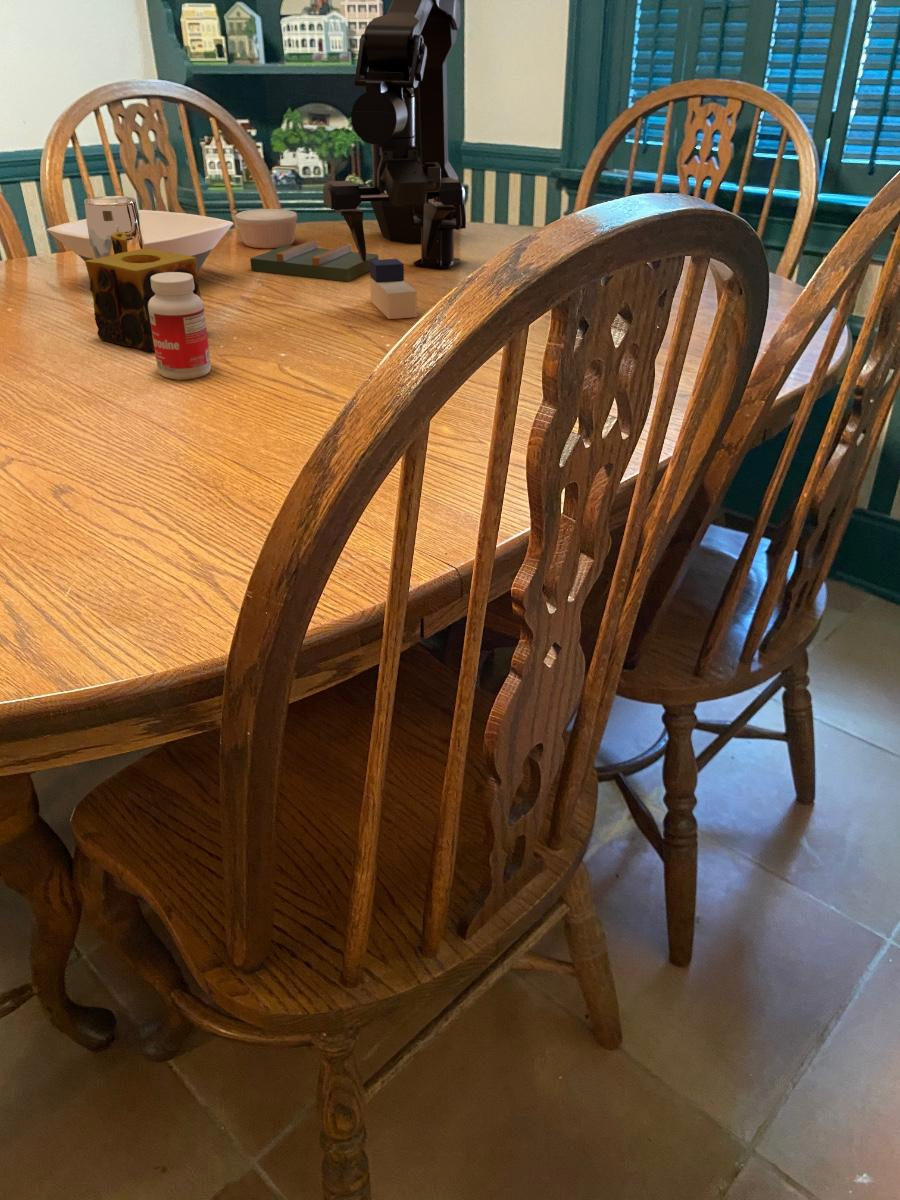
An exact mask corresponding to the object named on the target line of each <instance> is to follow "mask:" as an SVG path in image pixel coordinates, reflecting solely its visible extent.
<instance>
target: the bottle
mask: <svg viewBox="0 0 900 1200" xmlns="http://www.w3.org/2000/svg"><path fill="white" fill-rule="evenodd" d="M409 78H410V77H409ZM413 92H414V97H415V146H416V147H417V152H418V160H419V164H420V165H421V144H420V116H419V87H418V86H417V88H413ZM368 187H373V184H372V182H370V185H369V186H368ZM382 193H383V194H385V193H384V191H380V194H382ZM370 204H371V208H372V210H373V213H374V216H375V219H376V221H377V224H378V227H379V230H380V233H381V235H382V236H383V237H385V238H386V239H387V240H389V241H390V242H403V243H421V227H415V228H413V227H411V217H410V205H409V204H404V205H403V206H396V205H393V204H392V203H391V202H390V201H370Z"/></svg>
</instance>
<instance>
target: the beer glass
mask: <svg viewBox="0 0 900 1200" xmlns="http://www.w3.org/2000/svg"><path fill="white" fill-rule="evenodd" d="M83 204H84V209H85V219H86V221H87V228H88V234H89V239H90V243H91V247H92V250H93V254H94V257H95V259H97V258H101V257H106V256H110V255H114V254H118V253H123V252H129V251H134V250H139V249H144V241H143V233H142V227H141V222H140V218H139V213H138V210H139V209H138V205H137V200H136V198H134V197H132V196H125V195H105V196H94V197H90V198H89V197H88V198H86V199H84V200H83Z"/></svg>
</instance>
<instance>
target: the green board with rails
mask: <svg viewBox="0 0 900 1200" xmlns="http://www.w3.org/2000/svg"><path fill="white" fill-rule="evenodd" d="M318 246H319V245H318V240H313V239H312V240H308V241H306V242H304V243H301V244H298V245H293V244H291V245H285V246H282V247H279V248H273V249H272V250H269V251H267V252H264V253H261V254H258V255H255V256H253V257H250V258H249V260H250V271H252V272H258V273H259V272H260V273H268V274H278V275H284V276H293V277H303V278H313V279H320V280H329V281H338V282H347V283H348V282H350V281H352V280H354V279H356V278H358V277H360V276H362V275H364V274H367V273H368V272H370V260H380V259H379V254H377V253H367V252H366V262H363V261H362V260H361V257H360V255H359V252H358V251H353V250H352V244H351V243H344V244H342V245H338V246H337V247H334V248H330V249H329V248H320V247H319V248H318Z"/></svg>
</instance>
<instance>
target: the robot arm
mask: <svg viewBox="0 0 900 1200" xmlns="http://www.w3.org/2000/svg"><path fill="white" fill-rule="evenodd" d="M461 9H462V8H461V2H460V0H392V2H391V3H390V5H389V7H388V10H387V13H385V14H383V15H380V16H377V17H374V18H372V19H371V20H370V21H369V23H368V24H367V25H366V27H365V29H364V31H363V32H364V33H362V34H361V35H360V40H359V47H358V53H357V61H356V68H355V75H354V86H355V87H361V88H365V92H364V93H362V94H361V95H359V96H358V97H357V99H356V100H355V102H354V103H353V105H352V108H351V112H350V120H351V126H352V128H353V130H354V132H355V134H356V135H357V136H358V137H359V139H360V140H362V141H363V142H365V143H367V144H370V151H371V152H372V153H371V156H372V158H371V159H372V175H371V183H372V184H373V187H369V186H360V185H359V184H357V183H356V182H354V181H352V180H334V181H333V180H331V181H330V180H329V181H326V182H325V183H324V185H323V186H322V187H323V188H322V196H323V198H322V199H323V204H324V205H325V206H327V207H328V208H329V209H330V210H333V211H334V212H336V213H337V214H338V215H340V216H341V217H343V219H344V220H345V223H346V225H347V226H348V229H349V231H350V233H351V236H352V238H353V242H354V244H355V247H356V249H357V252H359V255H360V257H361V260H362V261H363V262H366V253H367V247H366V238H365V230H364V211H363V210H361V209H360V205H361V203H364V202H365V203H366V202H367V203H369V202H370V201H390V202H391V203H392V204H393V205H396V206H403V205H404V204H409V205H410V217H411V227H413V228H415V227H421V242H420V253H421V254H420V258H419V259H417V260H416V261H414V262H413V265H414V266H419V267H428V268H437V269H445V270H447V269H450V268H452V267H454V266H455V265H458V264H459V263H461V262H462V261H461V260H462V259H461V258H459V257H458V258H456V257H455V231H460V230H463V229H466V228H467V212H466V210H467V209H466V189H465V186H464V185H463V183H462V182H461V181H459V176H458V174H457V173H456V171H455V169H454V168H453V166H452V164H451V162H450V161H449V121H448V115H449V114H448V65H447V63H448V58H449V56H450V53H451V52H452V49H453V48H454V46H455V43H456V41H457V38H458V31H459V30H460V28H461V19H462V11H461ZM409 77H410V78H409ZM417 86H418V87H419V116H420V144H421V165H420V164H419V160H418V152H417V147H416V146H415V97H414V92H413V88H417ZM380 191H384V193H385V194H383V193H382V194H380ZM370 203H371V202H370ZM454 219H455V220H454Z"/></svg>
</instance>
